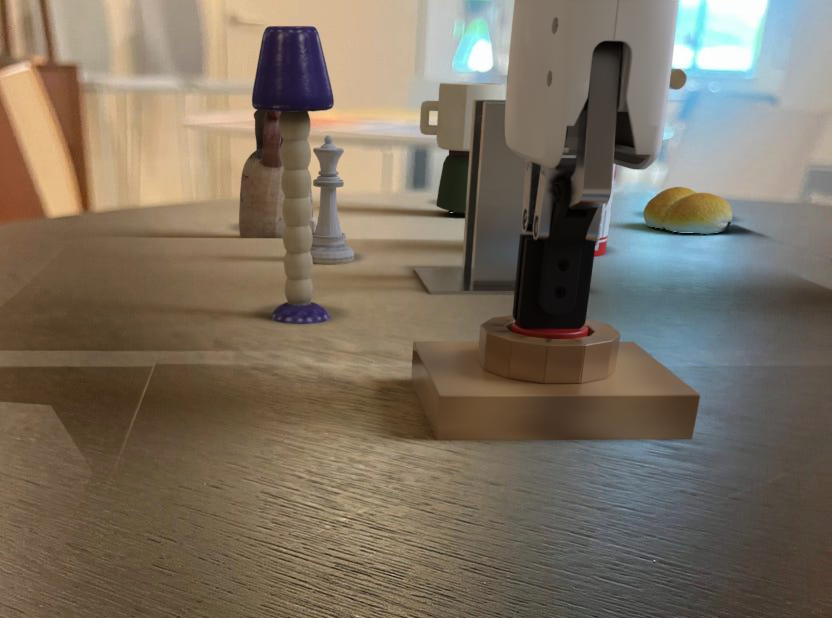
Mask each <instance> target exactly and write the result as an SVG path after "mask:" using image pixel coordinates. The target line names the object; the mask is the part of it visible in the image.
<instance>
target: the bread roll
mask: <svg viewBox="0 0 832 618" xmlns="http://www.w3.org/2000/svg"><path fill="white" fill-rule="evenodd" d="M643 219H644V220H643V221H644V222H645V224H646V226H648V227H649V226H650V227H649V228H652V227H655V228H654V229H656V228H660V229H659V230H666V231H668V230H670V231H676V232H693V233H716V232H721V233H724V232H725V231H727V230H728V229H729V228H730V226H731V224H732V222H731V221H732V220H733V210H732V206H731V205H730V203H729V202H728V201H727V200H726V199H724V198H723V197H721V196H718V195H716V194H712V193H709V192H696V191H695V190H692V189H691V188H689V187H684V186H674V187H668V188H665V189H664V190H662V191H660V192H659V193H657V194H656V195H655V196H653V197H652V198H651V199H649V201H648V202H647V204H646V205H645V206H644V208H643ZM664 228H665V229H664ZM670 231H669V232H670ZM723 231H724V232H723Z"/></svg>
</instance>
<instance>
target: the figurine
mask: <svg viewBox="0 0 832 618" xmlns="http://www.w3.org/2000/svg"><path fill="white" fill-rule="evenodd" d="M280 113H281V111H263V110H257V109H255V111H254V113H253V119H254V137H255V145H256V147H255V150H254V152H252V153H251V154H249V156H248V157H247V159H246V161H245V162H244V164H243V167H242V172H241V176H240V179H241V180H240V191H239V212H238V228H239V229H238V230H239V237H240V239H281V240H283V231H284V228H285V225H286V223H285V221H284V219H283V215H282V205H283V201H284V198H285V195H284V193H283V190H282V184H281V179H282V173H283V171H284V167H283V165H282V162H281V157H280V149H281V144H282V142H283V138H282V136H281V133H280V129H279V118H280ZM312 191H313V190H312V189H311V191H310V194H309V198H310V200H311V204H312V218H311V221H310V223H309V225H310V227H311V230H312V233H314V232H315V230H316V226H317V223H316V219H315V212H314V211H315V210H314V207H313V206H314V204H313V202H314V201H313V192H312Z"/></svg>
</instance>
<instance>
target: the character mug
mask: <svg viewBox="0 0 832 618" xmlns="http://www.w3.org/2000/svg"><path fill="white" fill-rule="evenodd" d="M474 99H479V100H505V99H506V84H503V83H491V82H439V86H438V100H425V101H422V102H421V106H420V119H419V130H420V133H421V134H422V135H425V136H436V137H435V138H436V143H437V147H438V148H440V149H441V150H446V151H448V155H446V157H445V158H444V161H443V163H442V169H441V174H440V178H439V179H440V180H439V184H438V191H437V197H436V205H435V206H436V207H437V208H439V209H442V210H445V211H448V213H449V212H454V213H455V212H456V213H466V198H467V183H468V168H469V153H470V138H471V123H472V108H473V100H474ZM430 112H437V118H436V119H437V120H436V123H437V124H430Z"/></svg>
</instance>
